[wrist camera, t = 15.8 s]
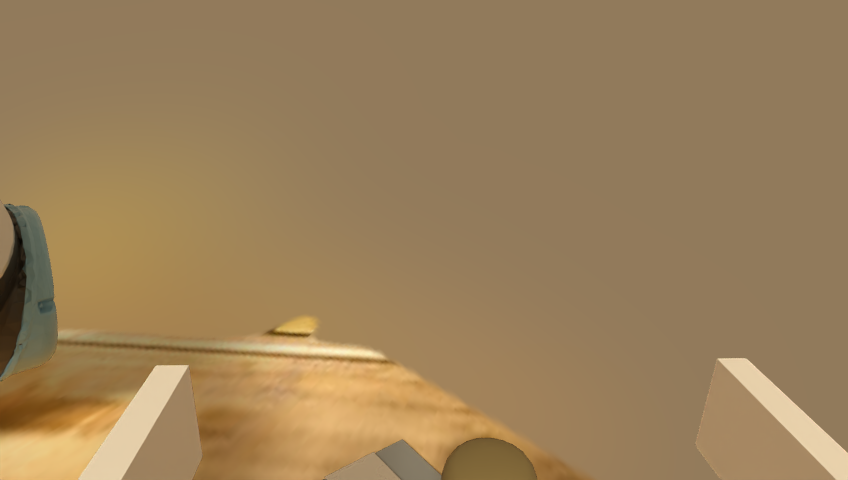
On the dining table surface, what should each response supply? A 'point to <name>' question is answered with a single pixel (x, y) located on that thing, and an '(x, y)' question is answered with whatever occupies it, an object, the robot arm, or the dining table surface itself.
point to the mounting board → (407, 462)
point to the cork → (488, 462)
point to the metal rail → (364, 470)
